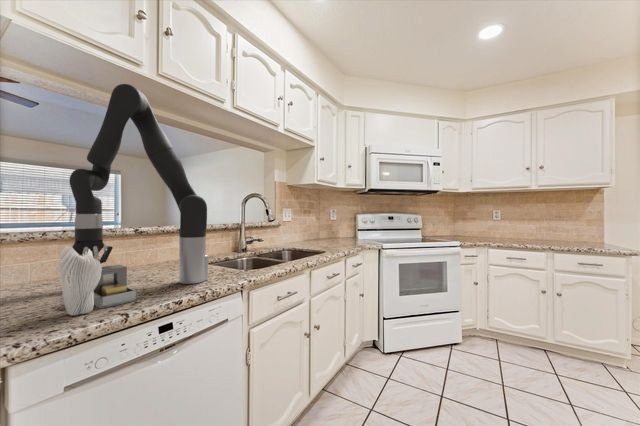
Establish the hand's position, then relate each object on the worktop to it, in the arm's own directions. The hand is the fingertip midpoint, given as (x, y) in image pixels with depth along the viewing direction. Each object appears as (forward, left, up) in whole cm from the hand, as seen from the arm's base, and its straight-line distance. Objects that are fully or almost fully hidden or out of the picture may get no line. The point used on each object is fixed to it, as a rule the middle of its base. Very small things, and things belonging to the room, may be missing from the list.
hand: (88, 276), depth 97 cm
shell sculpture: (+9, +28, -4) cm, 30 cm away
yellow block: (0, +23, -2) cm, 23 cm away
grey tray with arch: (0, +22, -4) cm, 22 cm away
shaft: (0, +9, -2) cm, 9 cm away
